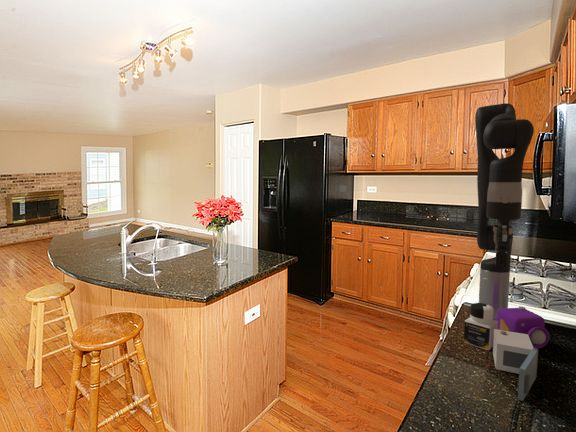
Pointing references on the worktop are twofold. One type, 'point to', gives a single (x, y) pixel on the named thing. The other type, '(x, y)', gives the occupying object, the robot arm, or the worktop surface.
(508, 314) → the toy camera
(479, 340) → the medicine bottle
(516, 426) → the worktop surface
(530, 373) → the case door
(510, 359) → the camera case
